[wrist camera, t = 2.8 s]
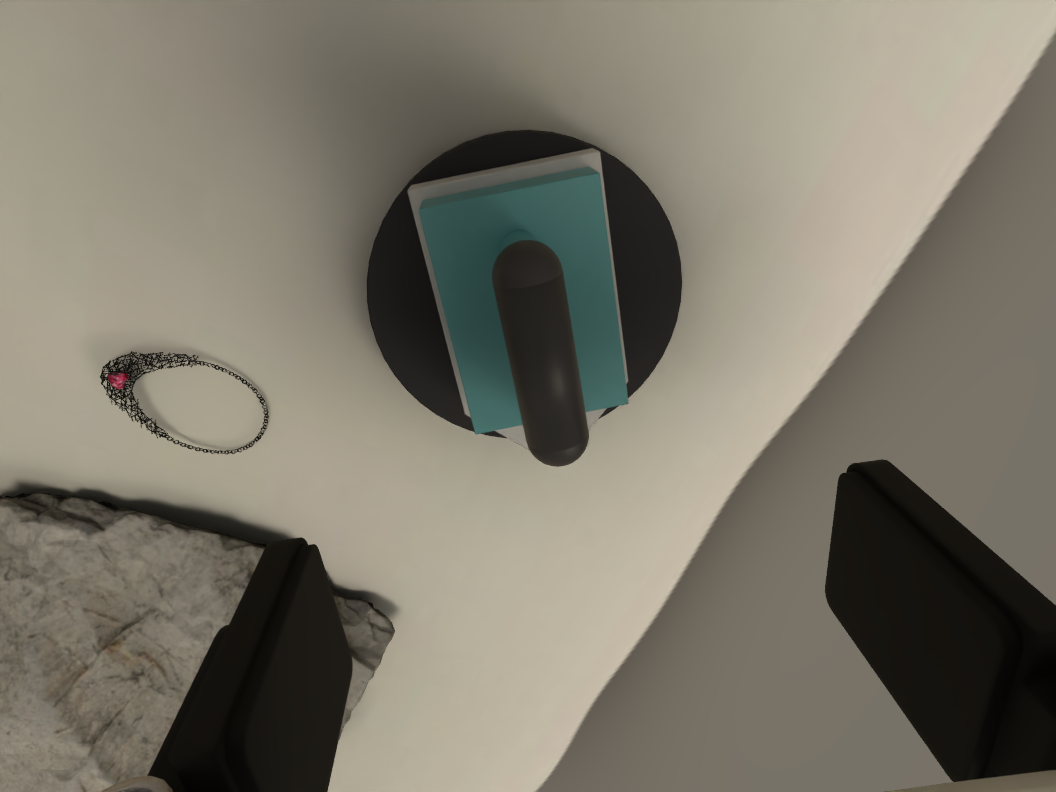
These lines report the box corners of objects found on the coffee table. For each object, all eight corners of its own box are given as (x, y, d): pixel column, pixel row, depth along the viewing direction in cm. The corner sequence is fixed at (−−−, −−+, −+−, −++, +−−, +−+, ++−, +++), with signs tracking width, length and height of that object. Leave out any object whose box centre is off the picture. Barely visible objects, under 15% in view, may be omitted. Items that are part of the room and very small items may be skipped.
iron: (409, 185, 22) (387, 220, 16) (594, 147, 22) (639, 168, 16) (481, 467, 27) (484, 572, 21) (630, 437, 27) (675, 533, 21)
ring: (125, 319, 24) (112, 328, 23) (284, 392, 26) (277, 402, 25) (94, 405, 25) (80, 417, 24) (247, 468, 27) (239, 481, 26)
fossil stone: (421, 578, 30) (366, 791, 21) (330, 763, 36) (259, 988, 27) (-38, 416, 26) (-337, 588, 18) (-49, 652, 33) (-271, 866, 24)
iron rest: (336, 152, 22) (331, 154, 21) (673, 110, 22) (682, 111, 22) (403, 445, 27) (401, 457, 27) (675, 408, 28) (682, 418, 27)
